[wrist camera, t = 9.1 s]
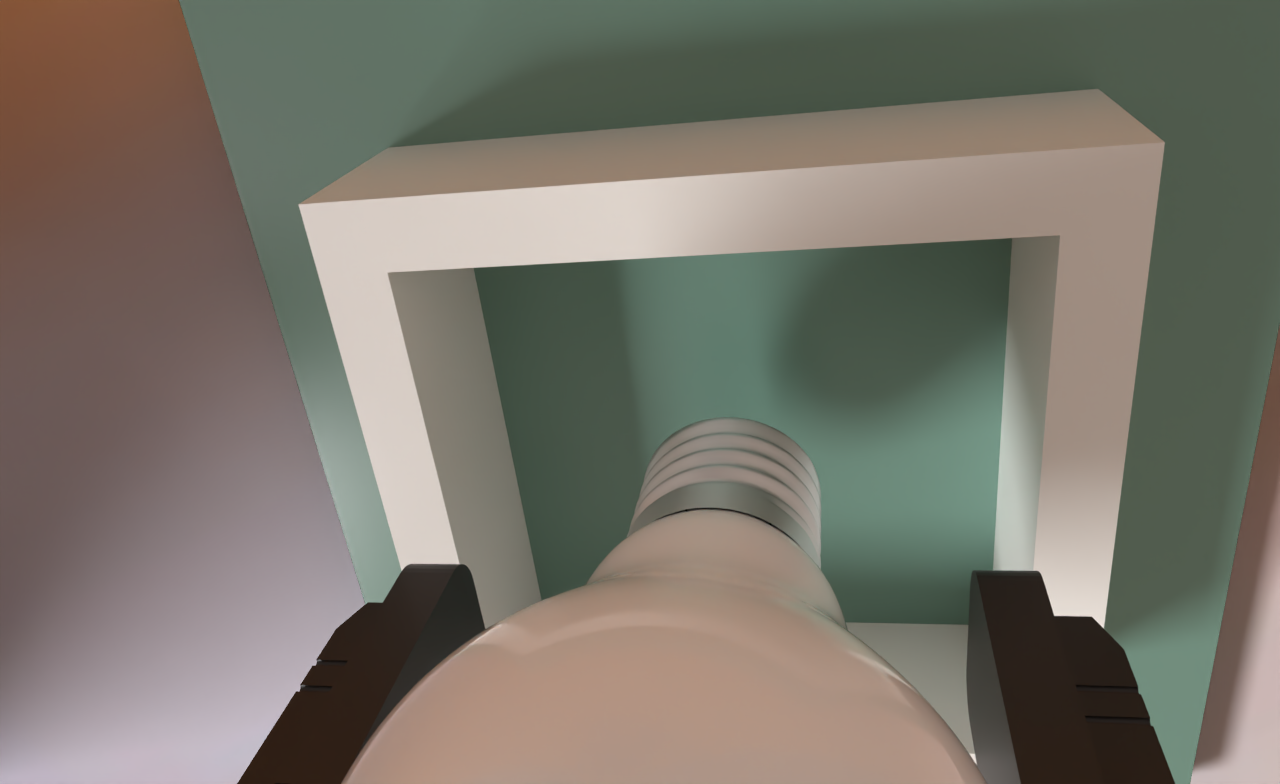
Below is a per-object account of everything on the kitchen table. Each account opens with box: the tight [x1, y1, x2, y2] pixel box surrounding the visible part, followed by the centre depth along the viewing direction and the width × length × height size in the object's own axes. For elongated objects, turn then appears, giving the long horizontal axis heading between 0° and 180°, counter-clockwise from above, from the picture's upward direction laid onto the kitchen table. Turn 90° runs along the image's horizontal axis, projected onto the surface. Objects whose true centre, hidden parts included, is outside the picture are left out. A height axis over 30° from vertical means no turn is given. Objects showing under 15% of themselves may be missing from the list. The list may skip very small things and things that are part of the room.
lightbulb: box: [341, 417, 988, 784], centre depth 11 cm, size 6×6×11 cm
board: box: [179, 0, 1280, 784], centre depth 16 cm, size 18×16×4 cm
